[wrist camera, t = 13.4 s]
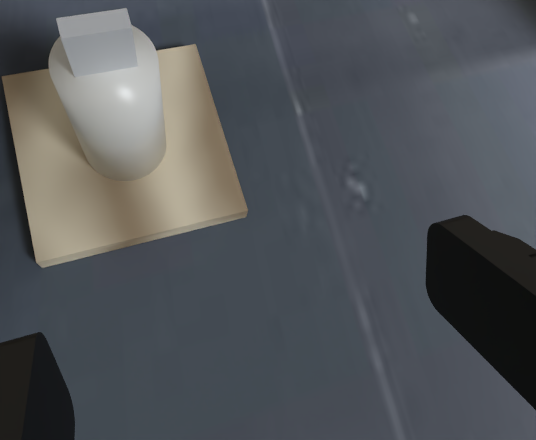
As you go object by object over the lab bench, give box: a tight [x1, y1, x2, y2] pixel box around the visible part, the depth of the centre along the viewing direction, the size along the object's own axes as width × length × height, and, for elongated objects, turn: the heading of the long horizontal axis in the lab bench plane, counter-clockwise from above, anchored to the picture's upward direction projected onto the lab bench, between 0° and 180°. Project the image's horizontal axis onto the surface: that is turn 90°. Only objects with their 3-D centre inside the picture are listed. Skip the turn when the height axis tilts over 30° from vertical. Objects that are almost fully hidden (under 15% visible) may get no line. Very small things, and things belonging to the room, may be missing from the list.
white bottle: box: [48, 8, 166, 181], centre depth 26 cm, size 5×5×11 cm
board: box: [2, 44, 248, 268], centre depth 31 cm, size 12×12×1 cm
